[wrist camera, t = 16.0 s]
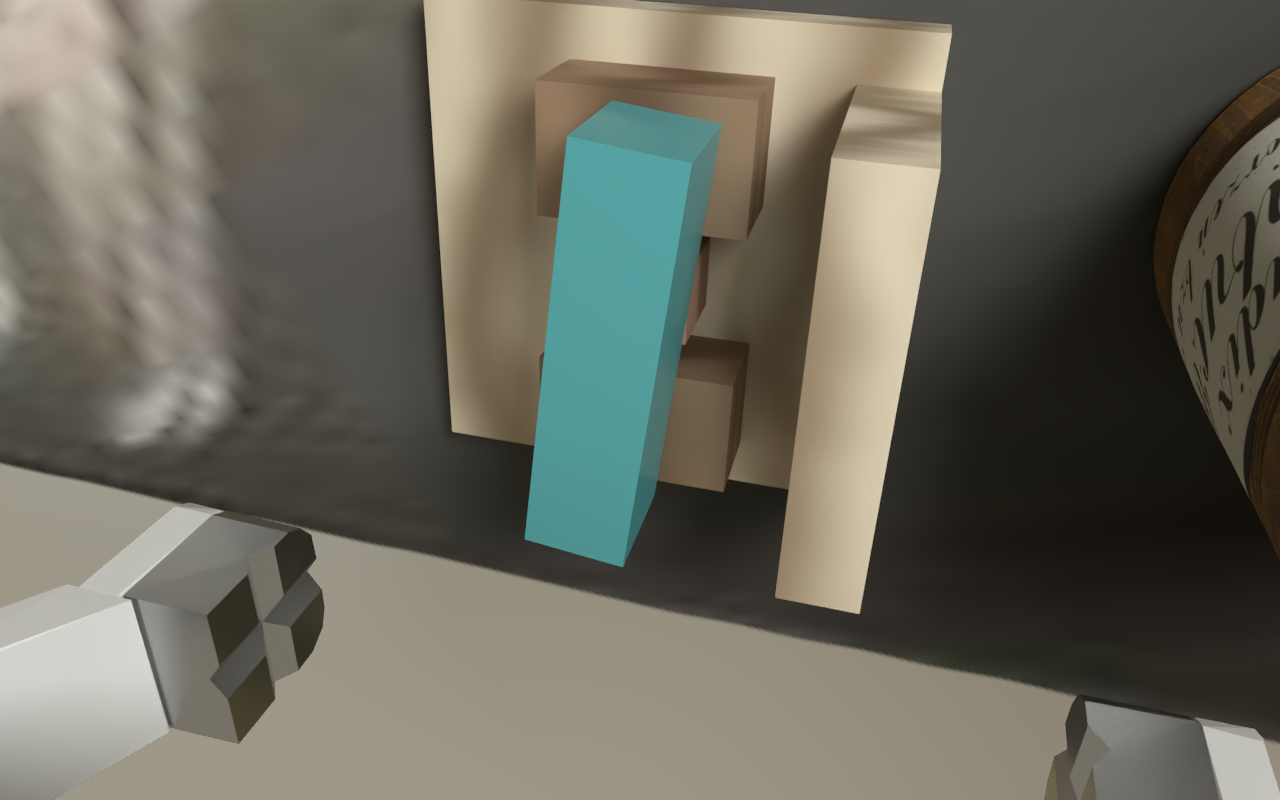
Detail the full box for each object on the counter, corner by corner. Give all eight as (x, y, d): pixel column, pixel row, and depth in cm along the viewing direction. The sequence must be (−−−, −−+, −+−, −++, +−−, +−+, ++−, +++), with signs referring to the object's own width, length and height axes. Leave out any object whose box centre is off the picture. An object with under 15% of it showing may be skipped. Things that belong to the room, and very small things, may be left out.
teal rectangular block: (722, 124, 35) (692, 163, 31) (654, 495, 43) (623, 567, 39) (612, 100, 36) (567, 135, 32) (565, 471, 44) (524, 539, 40)
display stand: (951, 24, 37) (953, 95, 27) (871, 479, 47) (851, 656, 37) (444, -14, 41) (281, 35, 31) (468, 411, 51) (350, 554, 41)
